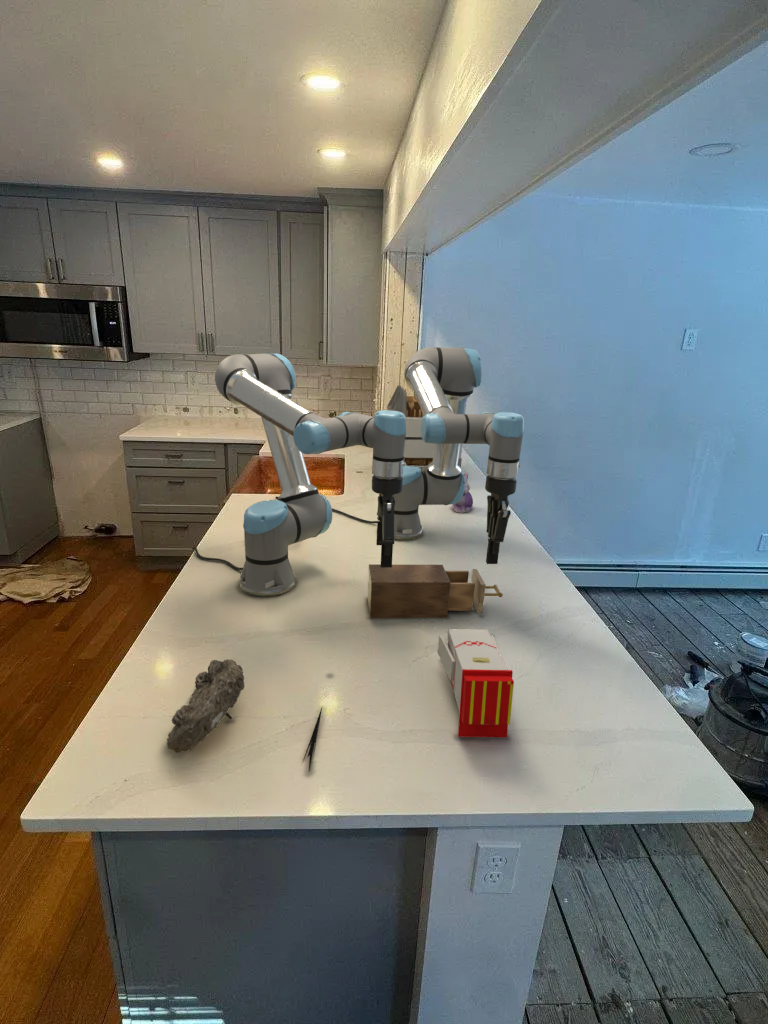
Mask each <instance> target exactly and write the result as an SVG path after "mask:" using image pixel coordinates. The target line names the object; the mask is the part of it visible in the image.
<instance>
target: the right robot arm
mask: <svg viewBox="0 0 768 1024" xmlns="http://www.w3.org/2000/svg"><path fill="white" fill-rule="evenodd" d="M404 379H405V382H406V384H407V386H408V388H409V389H410V390H412V391H413V393H414V396H415V397H416V398H417V400H418V403H419V405H420V407H421V410H422V412H423V415H424V416H423V418H422V421H421V434H422V439H423V441H424V442H426V443H435V446H434V454H433V462H431V463H430V464H429V465H428V466H426V471H422V469H421V467H420V466H407V465H406V466H403V475H402V478H403V485H402V491H401V492H400V493H398V494H394V495H393V496H392V497H394V500H395V507H394V541H410V540H415V539H418V538H420V537H421V536H422V535H423V525H422V524H421V518H420V515H419V507H420V506H449V505H453V504H456V503H458V502H459V501H460V500H461V498H462V496H463V493H464V489H465V476H464V475H465V473H464V472H462V467H461V468H460V467H459V466H458V458H459V451H460V445H461V444H462V445H488V446H489V450H488V457H487V465H486V474H487V476H486V477H485V484H484V485H485V486H484V489H485V491H486V492H487V493H489V494H490V495H486V496H487V497H486V501H487V503H486V504H487V506H486V507H487V509H486V531H485V532H486V534H487V537H488V538H487V548H486V558H485V563H486V564H487V565H498V563H499V562H498V561H499V556H500V555H499V554H500V545H501V543H504V541H505V536H506V531H507V527H508V523H509V518H510V516H511V514H512V513H511V510H509V509H508V508H509V504H510V502H509V498H508V497H509V496H511V495H514V494H515V493H516V492H517V483H518V479H517V477H518V473H519V468H521V463H520V457H521V452H522V451H521V449H522V444H523V435H524V433H525V426H524V425H525V418H524V416H523V415H522V414H520V413H516V412H510V411H509V412H508V411H507V412H506V411H501V412H491V411H483V412H482V413H477V414H475V413H473V414H471V413H470V414H469V413H466V410H467V403H468V402H467V401H468V398H470V397H471V396H473V394H474V389H475V388H478V387H480V386H481V383H482V381H483V364H482V359H481V355H480V354H479V352H478V350H476V349H474V348H465V347H436V346H429V347H424V348H421V349H419V350H418V351H416V352H415V353H414V354H413V355H411V356H410V357H409V359H408V360H407V362H406V364H405V367H404ZM274 498H275V500H279V499H278V498H279V496H275V497H274ZM332 512H335V513H339V514H341V515H343V516H346V517H348V518H351V519H354V520H357V521H359V522H363V523H366V524H377V521H378V520H367V519H363V518H361V517H360V518H359V517H357V516H354V515H352V514H349V513H347V512H344V511H341V510H338V509H335V508H332ZM389 539H391V538H389Z"/></svg>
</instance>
